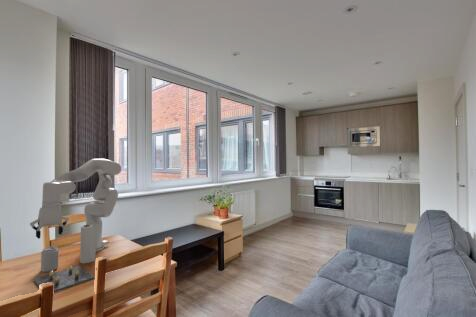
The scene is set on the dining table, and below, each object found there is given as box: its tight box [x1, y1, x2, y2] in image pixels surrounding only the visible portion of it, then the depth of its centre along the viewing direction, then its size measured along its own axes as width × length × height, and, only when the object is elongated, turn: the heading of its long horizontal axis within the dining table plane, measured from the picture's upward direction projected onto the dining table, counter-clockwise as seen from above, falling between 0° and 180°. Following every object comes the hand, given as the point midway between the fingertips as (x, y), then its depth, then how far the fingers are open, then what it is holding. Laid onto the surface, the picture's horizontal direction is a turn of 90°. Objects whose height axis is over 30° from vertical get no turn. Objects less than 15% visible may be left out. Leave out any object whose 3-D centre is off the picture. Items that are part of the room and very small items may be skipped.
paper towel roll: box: [79, 224, 97, 264], centre depth 146 cm, size 7×6×21 cm
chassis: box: [33, 264, 95, 293], centre depth 125 cm, size 20×20×4 cm
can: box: [40, 245, 59, 273], centre depth 135 cm, size 8×8×12 cm
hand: (49, 236), depth 135 cm, fingers open, 9 cm apart
